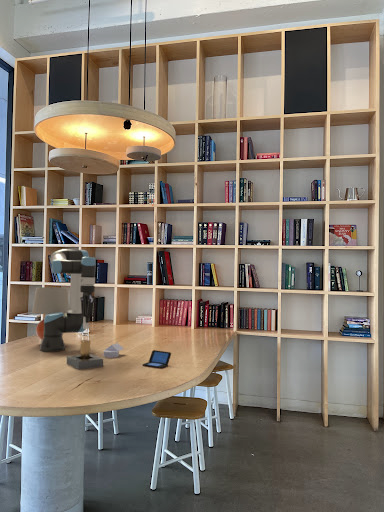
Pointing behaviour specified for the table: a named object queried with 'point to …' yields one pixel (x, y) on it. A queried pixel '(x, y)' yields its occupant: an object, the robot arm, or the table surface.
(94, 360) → the jig block
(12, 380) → the table surface
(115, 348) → the wedge on round base
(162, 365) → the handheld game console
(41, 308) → the lamp
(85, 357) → the golden brown cylinder
